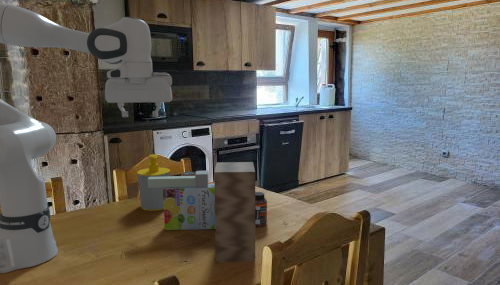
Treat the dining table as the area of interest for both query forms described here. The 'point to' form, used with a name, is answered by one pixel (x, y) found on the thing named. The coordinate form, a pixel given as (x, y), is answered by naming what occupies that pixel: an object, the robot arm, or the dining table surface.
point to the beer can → (189, 173)
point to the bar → (180, 181)
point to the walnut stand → (235, 211)
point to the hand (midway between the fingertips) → (140, 116)
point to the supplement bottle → (260, 209)
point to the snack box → (189, 207)
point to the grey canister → (151, 196)
